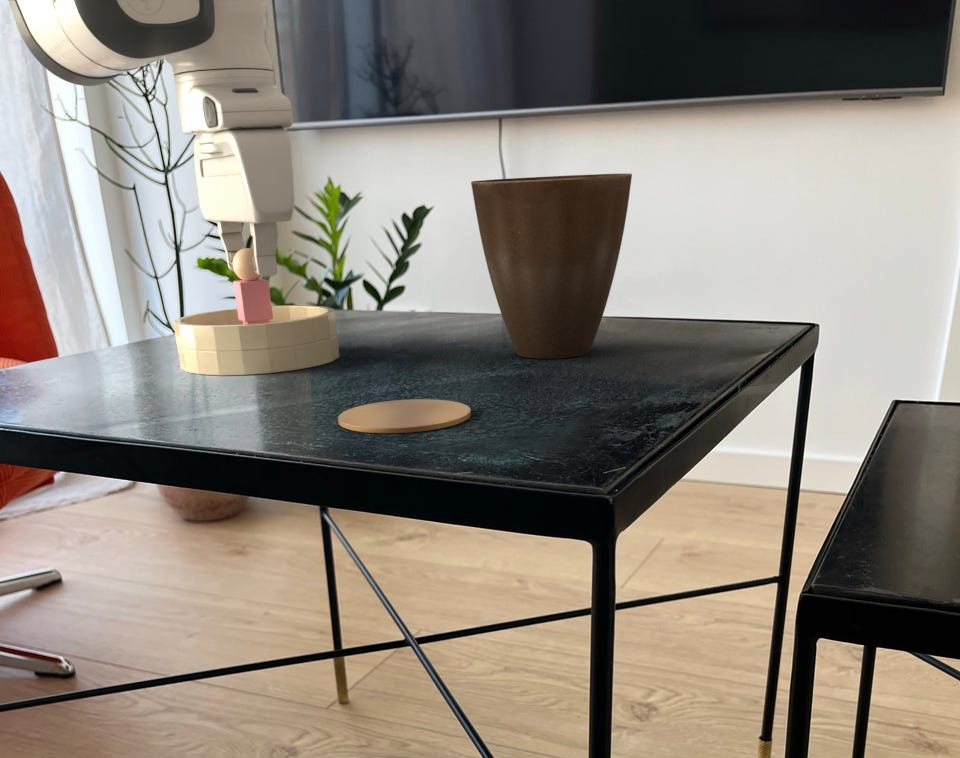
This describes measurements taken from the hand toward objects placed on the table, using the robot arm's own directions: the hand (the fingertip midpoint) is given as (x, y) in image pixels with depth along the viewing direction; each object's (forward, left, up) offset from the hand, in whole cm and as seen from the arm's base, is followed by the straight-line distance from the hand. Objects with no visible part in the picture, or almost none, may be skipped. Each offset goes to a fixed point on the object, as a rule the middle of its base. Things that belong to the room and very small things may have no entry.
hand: (252, 273), depth 97 cm
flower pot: (+26, -13, -9) cm, 30 cm away
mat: (+2, -31, -9) cm, 32 cm away
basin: (0, 0, -9) cm, 9 cm away
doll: (0, 0, -8) cm, 8 cm away
